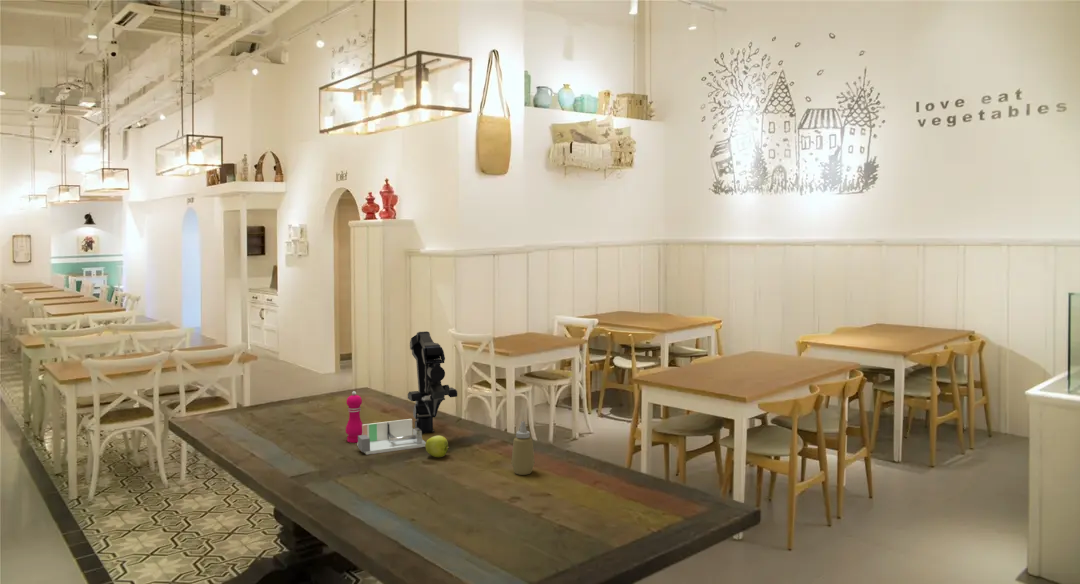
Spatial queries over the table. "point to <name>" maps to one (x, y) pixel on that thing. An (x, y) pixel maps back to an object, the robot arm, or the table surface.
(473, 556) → the table surface
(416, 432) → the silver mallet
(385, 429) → the gauge base
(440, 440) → the apple
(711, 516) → the table surface
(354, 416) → the pepper mill
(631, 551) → the table surface
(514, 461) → the squeeze bottle
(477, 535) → the table surface
